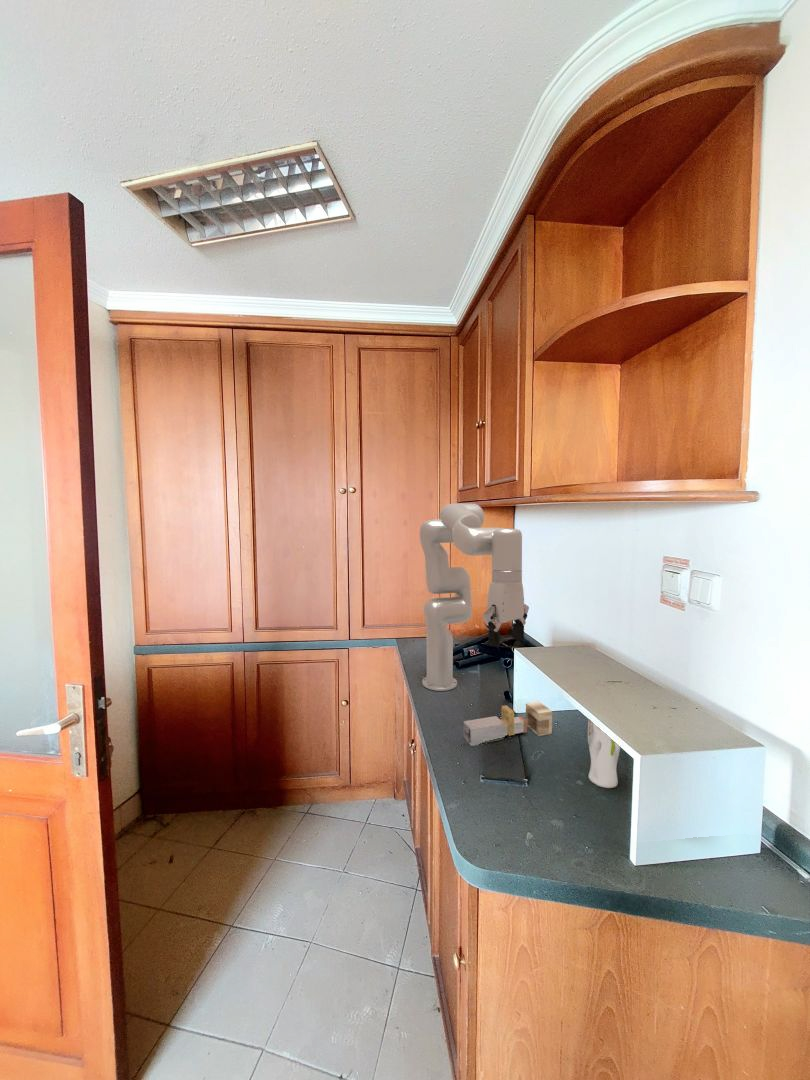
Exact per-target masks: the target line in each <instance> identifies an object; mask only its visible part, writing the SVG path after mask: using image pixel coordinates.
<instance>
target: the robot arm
mask: <svg viewBox="0 0 810 1080" xmlns="http://www.w3.org/2000/svg"><path fill="white" fill-rule="evenodd" d="M484 520H485V513H484V510H483V508H482V507H481V506H480V505H478V504H477V503H463V502H462V503H460V502H459V503H456V502H455V503H448V504H446V505H444V506H443V507H442V508H441V509H440V512H439V518H434V519H428V520H425V521H423V522H422V524H421V525H420V528H419V540H420V545H421V548H422V550H423V554H424V561H425V580H426V581H425V582H426V587H427V590H428V592H429V593H430V594H433V595H445V594H454V595H455V596H450V597H449V596H446V597H434V598H431V599H429V600H427V601H426V602H425V603H424V606H423V614H424V615H423V616H424V621H425V632H426V634H425V635H426V637H425V638H426V639H425V640H426V676H425V677H423V678H422V680H421V682H422V683H421V685H423V687H424V688H426V689H427V690H431V691H436V692H442V691H443V692H445V691H450V690H454V689H455V688H456V687H458V686H457V685H458V680H457V679H456V678H454V677H453V675H454V669H453V668H454V665H453V664H454V659H453V658H454V656H453V654H454V650H453V649H454V639H453V638H454V636H453V633H452V632H451V630H449V628H448V627H447V625H452V624H461V623H467V622H469V621H470V619H471V618H472V614H473V612H472V611H473V608H472V591H471V590H472V589H471V579H470V575H469V572H468V571H467V570H466V569H465V568H464V567H461V566H450V564H449V562H450V561H449V554H448V552H447V549H445V548H444V546H443V545H442V544H451V543H452V544H454V546H455V548H456V549H457V550H459V551H460V552H461V553H462V554H465V555H467V556H472V557H473V556H475V557H476V556H478V557H479V556H491V582H490V583H489V586H488V587H489V588H488V592H487V593H488V594H487V601H486V602H487V603H486V611H485V612H484V613H483V614H482V619H483V622H484V626H485V627H486V630H488V645H489V646H491V647H494V648H500V647H501V631H500V628H501V625H502V624H505V623H510V622H513V623H512V638H513V639H515V640H519V641H524V640H525V625H526V620H527V618H528V613H529V611H530V607H529V605H527V604H526V603H525V595H524V593H525V592H524V587H523V533H522V531H521V530H520V529H517V528H506V527H482V525H484Z"/></svg>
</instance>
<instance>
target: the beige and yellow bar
mask: <svg viewBox="0 0 810 1080" xmlns="http://www.w3.org/2000/svg"><path fill="white" fill-rule="evenodd" d="M500 720H501V721H502V722H503V723H504V724H505V736H507V735H509V736H510V735H514V736H515V735H516V734H521V733H527V732H528V727H527V721H526V718H524V717H523V716H521V715H519V716H515V711H514V710H513V708H511V707H509V706H508V705H501V719H500ZM470 736H471V730H470Z"/></svg>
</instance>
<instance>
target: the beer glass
mask: <svg viewBox="0 0 810 1080" xmlns="http://www.w3.org/2000/svg"><path fill="white" fill-rule="evenodd" d="M587 722H588V723H587V743H588V748H589V749H588V750H589V754H590V755H589V756H590V767H589V772H588V779H589V781H590V782H592V784H595V786H598V787H600V788H605V789H613V788H616V787H618V784H619V781H618V779H619V778H618V773H617V764H618V761H619V755H620V751H621V746H619V745H618V744H617V743H616V742H614V741H613V740H612V739H611V738H610V737H609V736H608V735H607V734H606V733H604V732H603V731H602V730H601V729H600V728H599V727H597V726H596V725H595V724H594V723H593V722H592V721H591V720H590V719H589V718H588V721H587Z"/></svg>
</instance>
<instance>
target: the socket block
mask: <svg viewBox="0 0 810 1080" xmlns="http://www.w3.org/2000/svg"><path fill="white" fill-rule="evenodd" d="M525 720H526V721H527V728H529V729H530V731H533V733H534V734H536V735H537V736H538V737H540V736H546V735H547V736H548V735H551V734H553V710H552V709H550V708H549V707H548V706H545V704H543V703H542V702H541V701H539V700H538V701H532V702H526V703H525Z"/></svg>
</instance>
